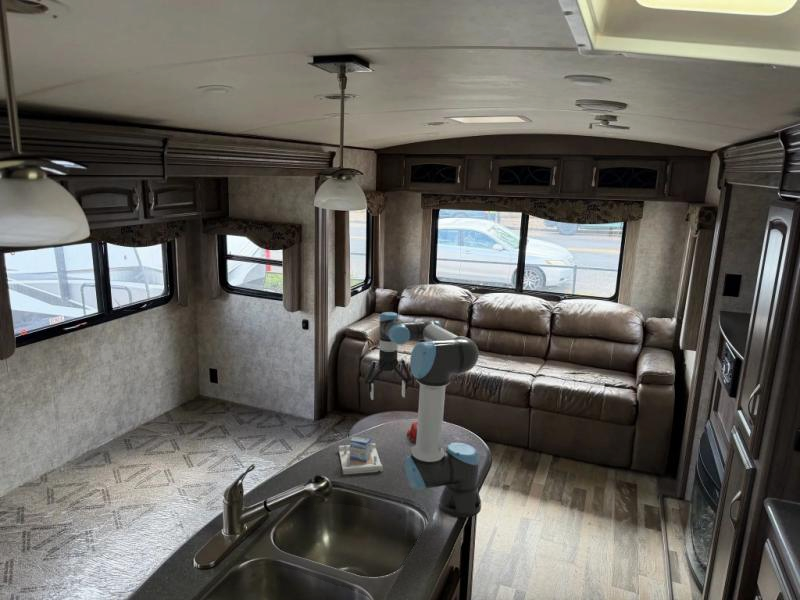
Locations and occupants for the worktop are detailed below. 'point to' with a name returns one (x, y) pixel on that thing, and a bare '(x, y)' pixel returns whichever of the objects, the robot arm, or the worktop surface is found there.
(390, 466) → the worktop surface
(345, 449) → the pin tray
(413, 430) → the butter dish
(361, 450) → the medicine box
